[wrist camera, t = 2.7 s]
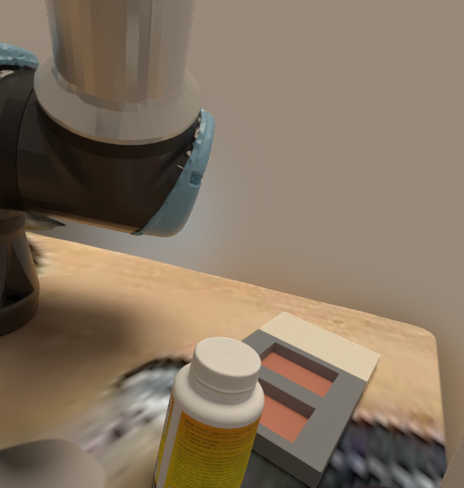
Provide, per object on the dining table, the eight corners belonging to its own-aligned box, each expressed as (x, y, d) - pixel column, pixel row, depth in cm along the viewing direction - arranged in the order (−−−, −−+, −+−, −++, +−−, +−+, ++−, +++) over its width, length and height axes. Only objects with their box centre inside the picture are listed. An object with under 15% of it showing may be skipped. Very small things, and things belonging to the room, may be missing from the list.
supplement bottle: (251, 515, 24) (294, 377, 21) (169, 547, 21) (206, 392, 18) (212, 447, 28) (244, 326, 25) (139, 466, 25) (166, 332, 22)
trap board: (314, 490, 26) (321, 472, 26) (176, 399, 32) (179, 384, 31) (376, 366, 44) (380, 354, 44) (281, 322, 50) (284, 311, 49)
